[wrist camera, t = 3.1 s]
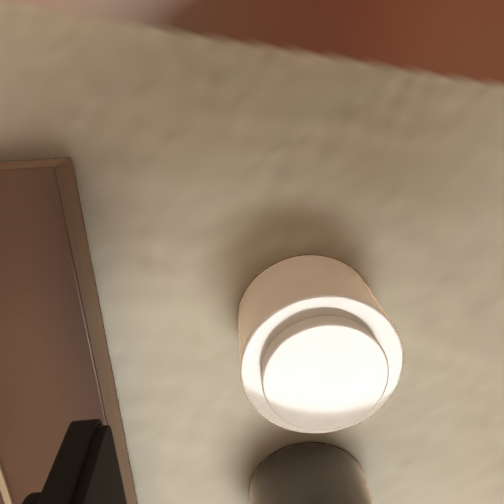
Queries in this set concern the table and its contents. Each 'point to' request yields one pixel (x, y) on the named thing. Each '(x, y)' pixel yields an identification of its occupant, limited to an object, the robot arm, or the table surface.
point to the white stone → (316, 346)
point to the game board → (48, 328)
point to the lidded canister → (309, 477)
